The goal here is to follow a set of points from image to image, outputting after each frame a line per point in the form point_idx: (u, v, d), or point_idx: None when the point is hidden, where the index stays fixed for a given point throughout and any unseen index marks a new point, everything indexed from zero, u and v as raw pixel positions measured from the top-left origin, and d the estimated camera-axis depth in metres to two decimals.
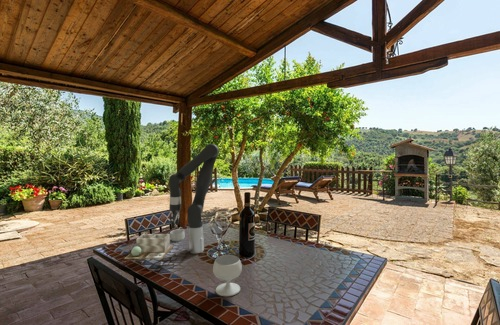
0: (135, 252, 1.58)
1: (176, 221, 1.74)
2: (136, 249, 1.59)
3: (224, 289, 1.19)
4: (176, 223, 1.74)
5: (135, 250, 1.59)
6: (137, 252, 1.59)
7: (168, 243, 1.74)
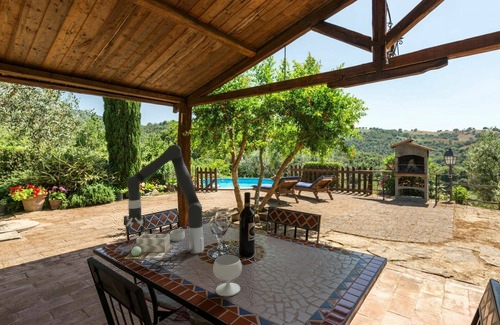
0: (135, 252, 1.58)
1: (129, 227, 1.61)
2: (136, 249, 1.59)
3: (224, 289, 1.19)
4: (129, 230, 1.61)
5: (135, 250, 1.59)
6: (137, 252, 1.59)
7: (168, 243, 1.74)
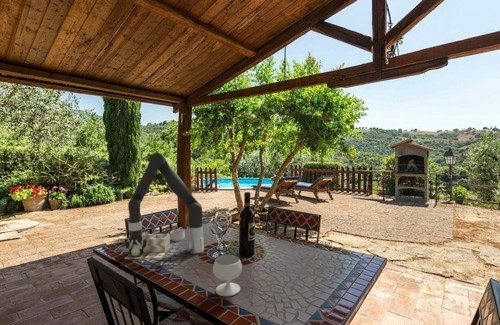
0: (135, 252, 1.58)
1: (131, 250, 1.61)
2: (136, 249, 1.59)
3: (224, 289, 1.19)
4: None
5: (135, 250, 1.59)
6: (137, 252, 1.59)
7: (168, 243, 1.74)
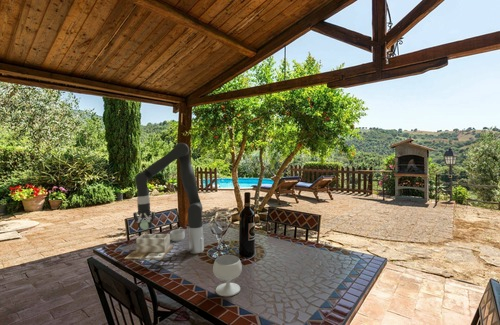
0: (144, 225, 1.61)
1: None
2: (145, 222, 1.62)
3: (224, 289, 1.19)
4: None
5: (144, 223, 1.62)
6: (146, 225, 1.62)
7: (168, 243, 1.74)
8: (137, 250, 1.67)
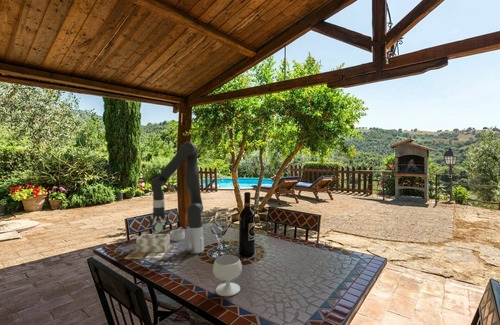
0: (159, 228, 1.69)
1: None
2: (159, 225, 1.69)
3: (224, 289, 1.19)
4: None
5: (158, 226, 1.69)
6: (160, 228, 1.69)
7: (168, 243, 1.74)
8: (137, 250, 1.67)
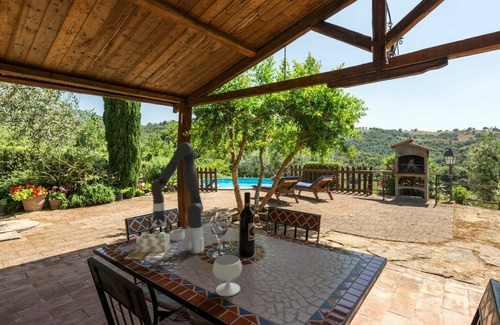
0: (162, 236, 1.70)
1: (153, 229, 1.71)
2: (164, 234, 1.71)
3: (224, 289, 1.19)
4: (153, 231, 1.72)
5: (163, 234, 1.71)
6: (163, 237, 1.70)
7: (168, 243, 1.74)
8: (137, 250, 1.67)
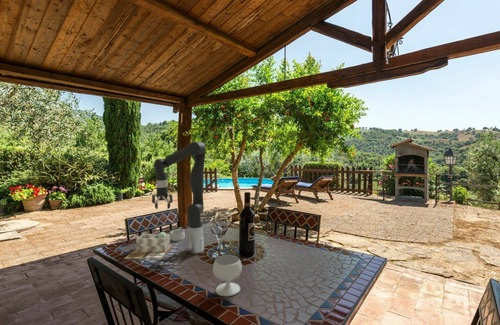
0: (162, 236, 1.70)
1: (157, 205, 1.80)
2: (165, 235, 1.72)
3: (224, 289, 1.19)
4: (157, 207, 1.80)
5: (164, 234, 1.71)
6: (163, 237, 1.71)
7: (168, 243, 1.74)
8: (137, 250, 1.67)
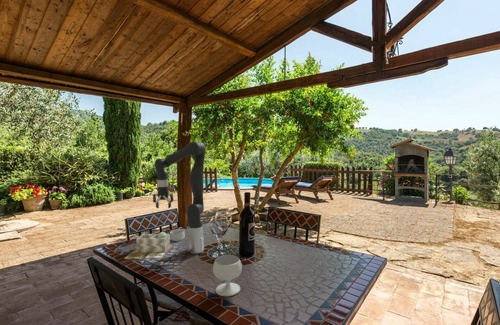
0: (162, 236, 1.70)
1: (158, 204, 1.81)
2: (165, 235, 1.72)
3: (224, 289, 1.19)
4: (158, 206, 1.81)
5: (164, 234, 1.71)
6: (163, 237, 1.71)
7: (168, 243, 1.74)
8: (137, 250, 1.67)
